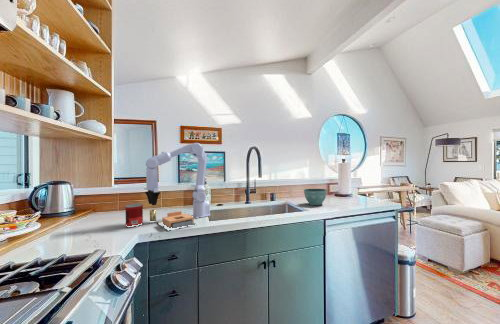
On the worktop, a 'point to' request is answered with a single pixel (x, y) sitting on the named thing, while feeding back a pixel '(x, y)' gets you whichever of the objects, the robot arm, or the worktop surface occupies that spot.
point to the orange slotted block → (175, 218)
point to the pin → (153, 215)
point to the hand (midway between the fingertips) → (152, 204)
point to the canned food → (134, 214)
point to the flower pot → (315, 196)
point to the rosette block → (182, 223)
